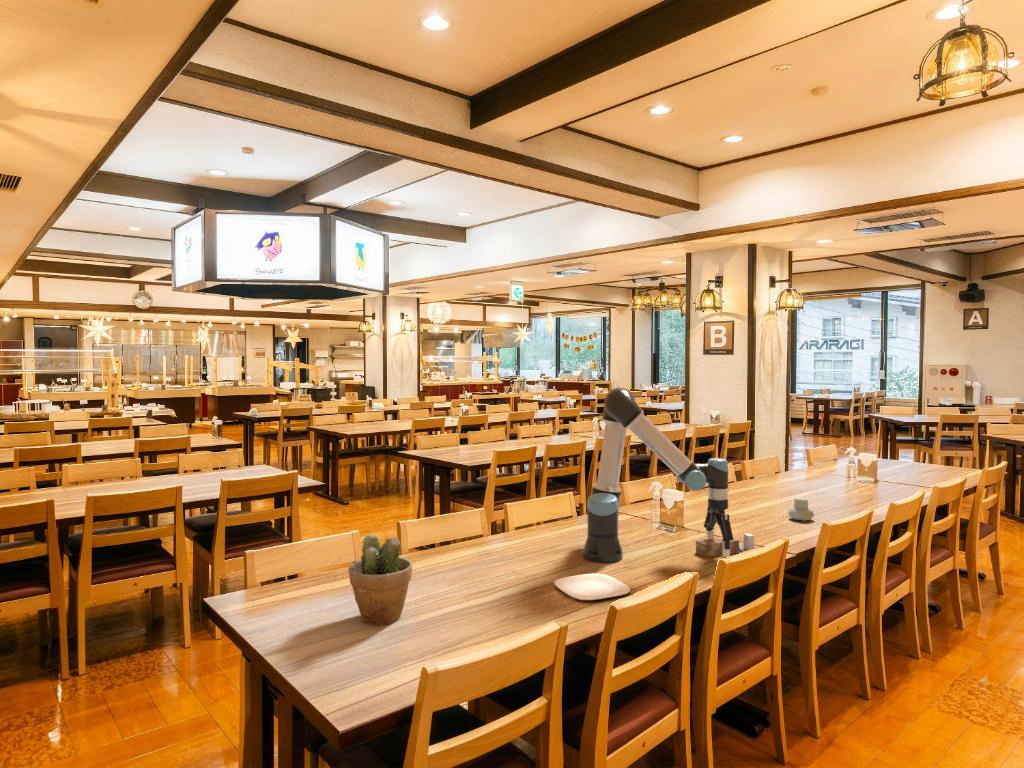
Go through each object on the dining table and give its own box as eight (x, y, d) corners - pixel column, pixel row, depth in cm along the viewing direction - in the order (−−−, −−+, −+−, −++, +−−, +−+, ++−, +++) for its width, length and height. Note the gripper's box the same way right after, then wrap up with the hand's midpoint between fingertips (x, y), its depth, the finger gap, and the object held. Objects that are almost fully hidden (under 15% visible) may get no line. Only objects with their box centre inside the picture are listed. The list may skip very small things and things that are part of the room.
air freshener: (803, 516, 303) (803, 496, 302) (816, 520, 295) (817, 499, 295) (785, 518, 299) (785, 497, 299) (798, 522, 292) (798, 501, 291)
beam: (704, 557, 241) (704, 544, 241) (695, 553, 247) (696, 540, 246) (739, 553, 247) (739, 540, 246) (729, 549, 252) (730, 536, 252)
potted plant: (335, 625, 179) (334, 538, 179) (372, 602, 197) (371, 523, 196) (391, 635, 173) (390, 545, 172) (424, 610, 190) (423, 528, 189)
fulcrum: (745, 554, 244) (745, 537, 244) (735, 548, 252) (735, 532, 252) (762, 553, 245) (762, 537, 245) (751, 547, 253) (752, 531, 252)
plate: (579, 607, 193) (579, 601, 193) (547, 584, 213) (547, 579, 213) (638, 596, 202) (638, 591, 202) (602, 575, 222) (602, 570, 222)
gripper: (742, 504, 234) (742, 561, 235) (712, 491, 259) (712, 542, 259) (723, 505, 233) (723, 562, 234) (695, 492, 258) (695, 543, 258)
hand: (717, 552), depth 247 cm, fingers open, 13 cm apart
